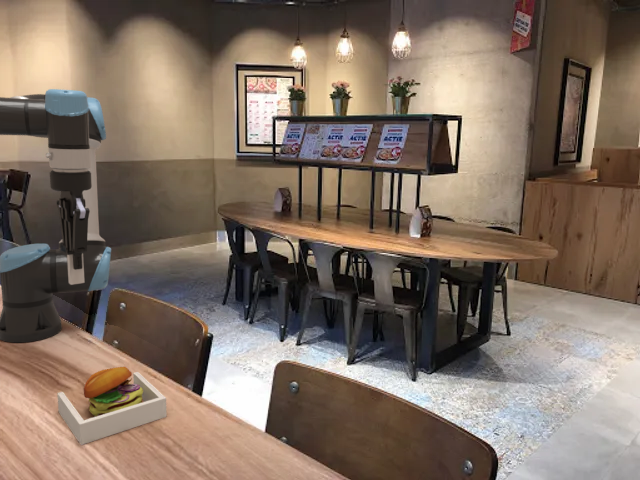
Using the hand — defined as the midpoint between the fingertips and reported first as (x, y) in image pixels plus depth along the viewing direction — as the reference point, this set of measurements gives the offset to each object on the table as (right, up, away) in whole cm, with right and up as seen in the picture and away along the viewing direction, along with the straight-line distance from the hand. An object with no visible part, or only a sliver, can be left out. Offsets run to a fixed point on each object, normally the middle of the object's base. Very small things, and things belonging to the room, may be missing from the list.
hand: (76, 282), depth 111 cm
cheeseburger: (+10, -25, -6) cm, 28 cm away
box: (+10, -25, -7) cm, 28 cm away
